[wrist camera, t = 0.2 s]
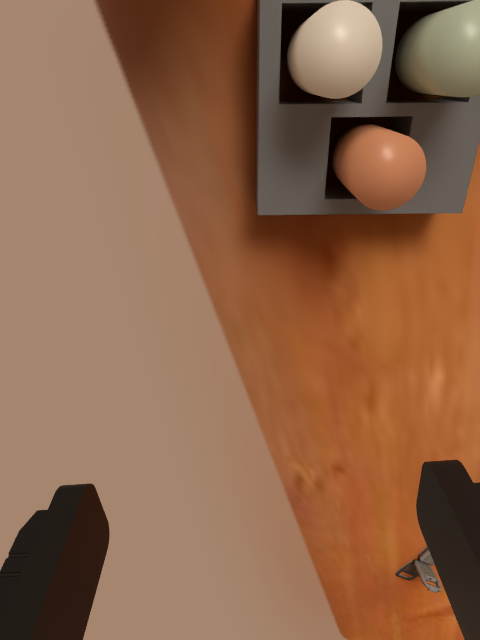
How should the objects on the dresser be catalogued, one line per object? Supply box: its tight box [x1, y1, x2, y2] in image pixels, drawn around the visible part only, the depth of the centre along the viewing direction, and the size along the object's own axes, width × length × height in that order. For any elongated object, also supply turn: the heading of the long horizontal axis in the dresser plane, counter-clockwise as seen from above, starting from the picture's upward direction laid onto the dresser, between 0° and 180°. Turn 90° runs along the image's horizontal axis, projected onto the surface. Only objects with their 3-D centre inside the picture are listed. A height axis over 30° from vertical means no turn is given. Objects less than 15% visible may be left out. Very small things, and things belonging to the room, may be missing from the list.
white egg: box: [287, 0, 382, 99], centre depth 25 cm, size 4×4×6 cm
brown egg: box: [332, 124, 426, 211], centre depth 29 cm, size 4×4×6 cm
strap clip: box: [396, 546, 441, 593], centre depth 58 cm, size 8×3×4 cm, turn 151°
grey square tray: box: [256, 0, 480, 215], centre depth 30 cm, size 14×15×4 cm
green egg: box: [395, 0, 480, 97], centre depth 25 cm, size 4×4×6 cm
